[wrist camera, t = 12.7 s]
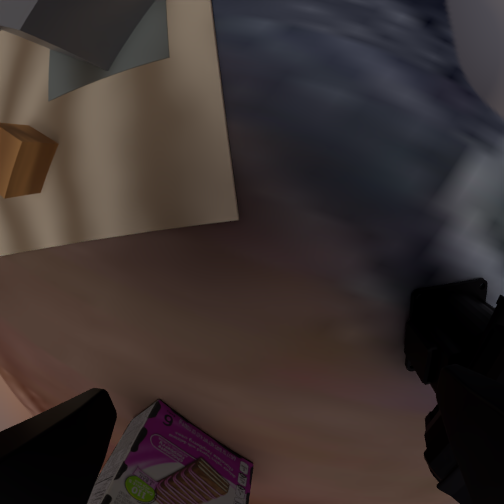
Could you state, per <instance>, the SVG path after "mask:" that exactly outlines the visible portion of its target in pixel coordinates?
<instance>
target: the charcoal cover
mask: <svg viewBox="0 0 504 504" xmlns="http://www.w3.org/2000/svg"><path fill="white" fill-rule="evenodd" d="M154 2H155V0H0V29H1V30H3V31H6V32H9V33H11V34H14V35H17V36H19V37H22V38H24V39H27V40H29V41H32V42H34V43H37V44H39V45H41V46H44V47H46V48H49V49H51V50H53V51H56V52H59V53H62V54H65V55H67V56H70V57H73V58H75V59H78V60H81V61H83V62H86V63H89V64H91V65H94V66H96V67H99V68H101V69H104V70H106V71H108V70H109V69H110V67H111V65H112V63H113V62H114V60H115V58H116V57H117V55H118V54H119V52H120V50H121V49H122V47H123V46H124V44H125V43H126V41H127V40H128V38H129V37H130V35H131V34H132V32H133V31H134V29H135V28H136V26H137V25H138V23H139V22H140V21H141V19H142V18H143V16H144V15H145V14H146V12H147V11H148V10H149V8H150V7H151V6H152V4H153V3H154Z"/></svg>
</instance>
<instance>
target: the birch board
mask: <svg viewBox="0 0 504 504" xmlns="http://www.w3.org/2000/svg"><path fill="white" fill-rule="evenodd" d="M0 123H10V124H20V125H29V126H31V127H32V128H34V129H36V130H37V131H39V132H41V133H42V134H44V135H45V136H47V137H49V138H50V139H52V140H53V141H55V142H57V143H58V144H59V145H58V147H57V149H56V152H55V154H54V157H53V160H52V162H51V165H50V168H49V170H48V173H47V176H46V179H45V182H44V184H43V187H42V190H41V193H37V194H30V195H24V196H18V197H12V198H6V199H4V198H3V197H2V196H1V195H0V256H3V255H9V254H14V253H20V252H25V251H31V250H36V249H42V248H48V247H54V246H60V245H66V244H72V243H78V242H84V241H90V240H97V239H103V238H110V237H116V236H123V235H130V234H137V233H144V232H151V231H158V230H165V229H172V228H180V227H187V226H195V225H203V224H211V223H219V222H227V221H235V220H239V212H238V205H237V198H236V190H235V183H234V175H233V168H232V160H231V152H230V145H229V137H228V129H227V122H226V114H225V106H224V98H223V90H222V82H221V74H220V67H219V59H218V50H217V42H216V34H215V26H214V18H213V10H212V1H211V0H155V2H154V3H153V4H152V6H151V7H150V8H149V10H148V11H147V12H146V14H145V15H144V16H143V18H142V19H141V21H140V22H139V23H138V25H137V26H136V28H135V29H134V31H133V32H132V34H131V35H130V37H129V38H128V40H127V41H126V43H125V44H124V46H123V47H122V49H121V50H120V52H119V54H118V55H117V57H116V58H115V60H114V62H113V63H112V65H111V67H110V69H109V70H108V71H106V70H104V69H101V68H99V67H96V66H94V65H91V64H89V63H86V62H83V61H81V60H78V59H75V58H73V57H70V56H67V55H65V54H62V53H59V52H56V51H53V50H51V49H49V48H46V47H44V46H41V45H39V44H37V43H34V42H32V41H29V40H27V39H24V38H22V37H19V36H17V35H14V34H11V33H9V32H6V31H3V30H1V31H0Z"/></svg>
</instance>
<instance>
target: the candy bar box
mask: <svg viewBox="0 0 504 504" xmlns="http://www.w3.org/2000/svg"><path fill="white" fill-rule="evenodd" d="M252 473H253V464H252V463H251V462H249V461H247V460H245V459H244V458H242V457H240V456H239V455H237V454H235V453H234V452H232V451H231V450H229V449H227V448H226V447H224V446H223V445H221V444H220V443H218V442H217V441H215V440H214V439H212V438H211V437H209V436H208V435H206V434H205V433H203V432H202V431H201V430H199V429H198V428H196V427H195V426H193V425H192V424H191V423H189V422H188V421H187V420H185V419H184V418H183V417H181V416H180V415H178V414H177V413H176V412H175V411H173V410H172V409H171V408H169V407H168V406H167V405H165V404H164V403H163V402H162V401H160V400H157V401H156V402H154V403H153V404H152V405H151V406H150V407H149V408H147V409H146V410H145V411H143V412H142V413H141V414H139V415H138V416H136V417H135V418H134V419H132V421H131V422H130V424H129V425H128V427H127V429H126V430H125V432H124V434H123V436H122V438H121V439H120V441H119V443H118V444H117V446H116V447H115V449H114V451H113V453H112V454H111V456H110V458H109V459H108V461H107V463H106V465H105V466H104V468H103V470H102V471H101V473H100V475H99V476H98V478H97V480H96V482H95V485H94V487H93V490H92V492H91V495H90V498H89V500H88V503H87V504H248V503H249V495H250V488H251V480H252Z"/></svg>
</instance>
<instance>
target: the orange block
mask: <svg viewBox="0 0 504 504" xmlns="http://www.w3.org/2000/svg"><path fill="white" fill-rule="evenodd" d="M58 145H59V144H58V143H57V142H55V141H53V140H52V139H50V138H49V137H47V136H45V135H44V134H42V133H41V132H39V131H37V130H36V129H34V128H32V127H31V126H29V125H20V124H10V123H0V195H1V196H2V197H3V198H4V199H6V198H12V197H18V196H24V195H30V194H37V193H41V190H42V187H43V184H44V182H45V179H46V176H47V173H48V170H49V168H50V165H51V162H52V160H53V157H54V154H55V152H56V149H57V147H58Z"/></svg>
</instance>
